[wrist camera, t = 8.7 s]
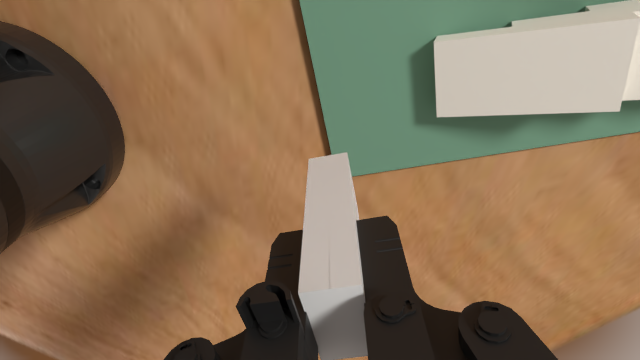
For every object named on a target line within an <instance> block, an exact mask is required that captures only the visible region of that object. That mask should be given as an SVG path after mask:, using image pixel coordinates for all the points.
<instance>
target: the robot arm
mask: <svg viewBox="0 0 640 360" xmlns="http://www.w3.org/2000/svg"><path fill="white" fill-rule="evenodd" d="M124 154H125V145H124V136H123V131H122V127H121V124H120V121H119V118H118V116H117V113H116V111H115V109H114V107H113V105H112V103H111V102H110V100H109V98H108V97H107V95H106V93H105V92H104V91H103V89H102V88H101V86H100V85H99V84H98V83H97V81H96V80H95V79H94V78H93V77H92V75H91V74H90V73H89V72H88V71H87V70H86V69H85V68H84V67H83V66H82V65H81V64H80V63H79V62H78V61H76V60H75V59H74V58H73V57H72V56H70V55H69V54H68V53H67V52H65V51H64V50H63V49H61V48H60V47H58V46H57V45H55V44H54V43H52V42H51V41H49V40H47V39H45V38H44V37H42V36H40V35H38V34H36V33H34V32H31V31H29V30H27V29H24V28H22V27H19V26H16V25H12V24H9V23H5V22H1V21H0V253H2V252H3V251H4V250H5V249H6V248H7V247H9V246H10V245H11V244H12V243H13V242H14V241H16V240H17V239H18V238H19V237H21V236H24V235H26V234H28V233H31V232H33V231H35V230H38V229H40V228H42V227H45V226H47V225H49V224H52V223H54V222H56V221H59V220H61V219H63V218H66V217H68V216H70V215H73V214H75V213H77V212H79V211H82V210H83V209H85V208H87V207H88V206H90V205H91V204H93V203H94V202H95V201H96V200H97V199H98V198H100V197H101V196H102V195H103V194H104V193H105V192H106V191H107V190H108V189H109V188H110V187H111V185H112V184H113V183H114V182H115V180H116V179H117V177H118V175H119V174H120V171H121V169H122V165H123V161H124ZM236 308H237V310H238V312H239V314H240V316H241V318H242V320H243V322H244V324H245V326H246V328H247V329H245V330H244V331H243V332H241V333H240V334H238V335H236V336H234V337H232V338H229V339H227V340H225V341H222V342H220V343H218V344H215V345H212V343H211V342H210V341H209V340H207V339H204V338H202V337H200V338H191V339H189V340H186V341H184V342H182V343H180V344H179V345H177V346H176V347H175V348H174V349H172V350H171V351H170V352H169V354H168V355H167V356H166V357H165V359H164V360H318V352H319V355H320V358H321V360H335V359H344V358H353V357H362V356H368V360H558V359H557V358H556V357H555V356H554V355H553V353H552V352H551V351H550V350H549V349H548V348H547V346H546V345H545V344H544V343H543V342H542V341H541V340H540V338H539V337H538V336H537V335H536V334H535V333H534V332H533V330H532V329H531V328H530V327H529V326H528V325H527V323H526V322H525V321H524V320H523V319H522V318H521V317H520V316H519V315H518V314H517V313H516V312H514V311H513V310H512V309H511V308H509V307H506V306H504V305H502V304H500V303H496V302H489V301H482V302H476V303H472V304H471V305H469V306H467V307H466V308H464V310H463V311H462V313H460V312H454V311H448V310H442V309H439V308H435V307H433V306H431V305H428V304H427V303H425V302H424V301H423V300H421V299H420V298H419V297H418V295H417V294H416V293H415V291H414V288H413V286H412V282H411V278H410V274H409V270H408V267H407V263H406V259H405V255H404V252H403V248H402V244H401V240H400V236H399V233H398V229H397V225H396V224H395V223H394V222H393V221H392V220H391V219H390V218H389V217H388V216H382V217H376V218H369V219H363V220H359V215H358V208H357V202H356V197H355V192H354V186H353V181H352V176H351V170H350V165H349V160H348V154H347V152H345V153H340V154H334V155H328V156H323V157H317V158H311V159H309V163H308V176H307V188H306V200H305V213H304V225H303V230H298V231H291V232H285V233H280V234H279V235H278V237H277V238H276V239H275V241H274V242H273V244H272V246H271V252H270V260H269V263H268V270H267V273H266V279H265V282H262V283H258V284H256V285H254V286H253V287H251V288H249V289H248V290H247V291H246V292H245V293H244V294H243V295H242V296H241V297H240V299H239V301H238V303H237V305H236Z"/></svg>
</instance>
